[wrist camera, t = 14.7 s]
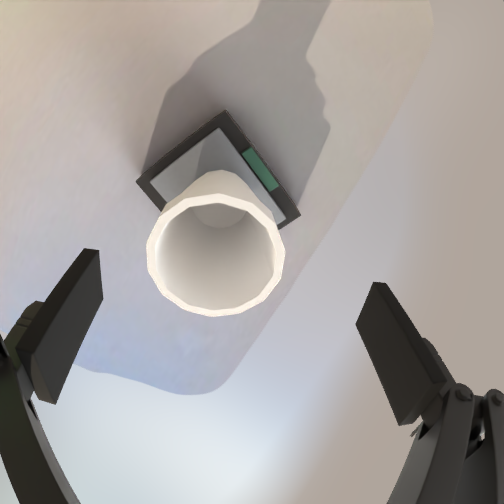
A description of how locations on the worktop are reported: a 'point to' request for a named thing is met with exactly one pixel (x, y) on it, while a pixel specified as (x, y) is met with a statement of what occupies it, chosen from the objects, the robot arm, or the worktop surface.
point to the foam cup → (215, 247)
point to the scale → (217, 168)
